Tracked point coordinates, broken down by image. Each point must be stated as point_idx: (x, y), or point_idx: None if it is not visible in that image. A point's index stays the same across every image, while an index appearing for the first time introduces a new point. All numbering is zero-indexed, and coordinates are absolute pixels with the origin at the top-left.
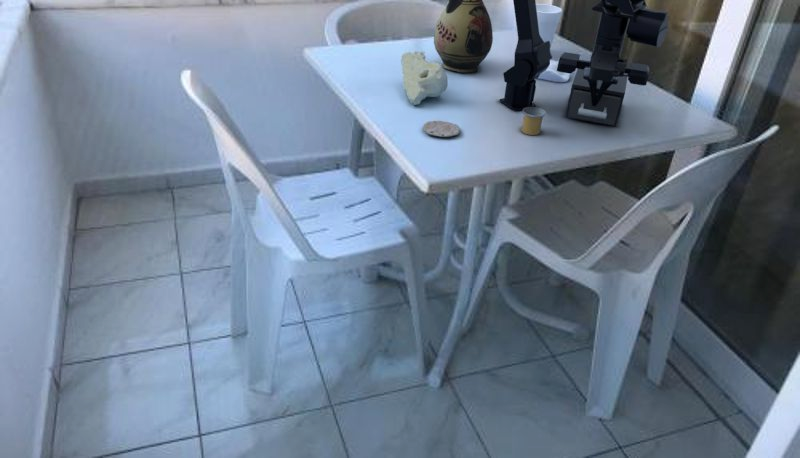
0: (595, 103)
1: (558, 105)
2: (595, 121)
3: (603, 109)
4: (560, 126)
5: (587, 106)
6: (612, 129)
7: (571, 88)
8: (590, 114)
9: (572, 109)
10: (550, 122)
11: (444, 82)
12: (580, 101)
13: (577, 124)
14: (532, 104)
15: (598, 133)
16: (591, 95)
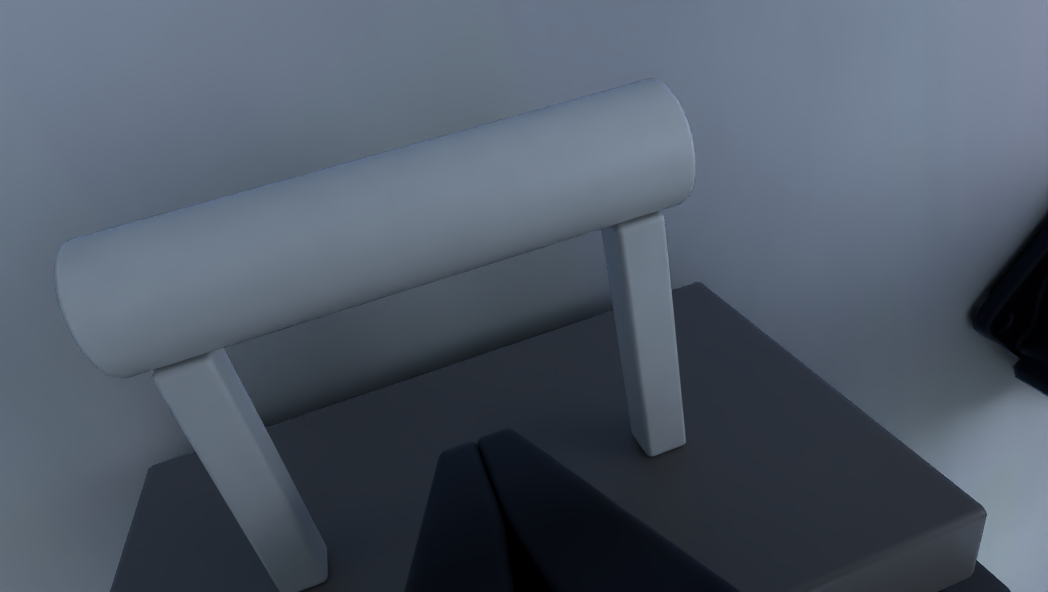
0: (470, 478)
1: None
2: (386, 388)
3: (333, 545)
4: (706, 59)
5: (580, 457)
6: (159, 421)
7: (997, 580)
8: (414, 147)
9: (723, 342)
10: (821, 91)
11: None
12: (724, 452)
13: (553, 255)
14: (1015, 319)
15: (234, 191)
16: (662, 544)
